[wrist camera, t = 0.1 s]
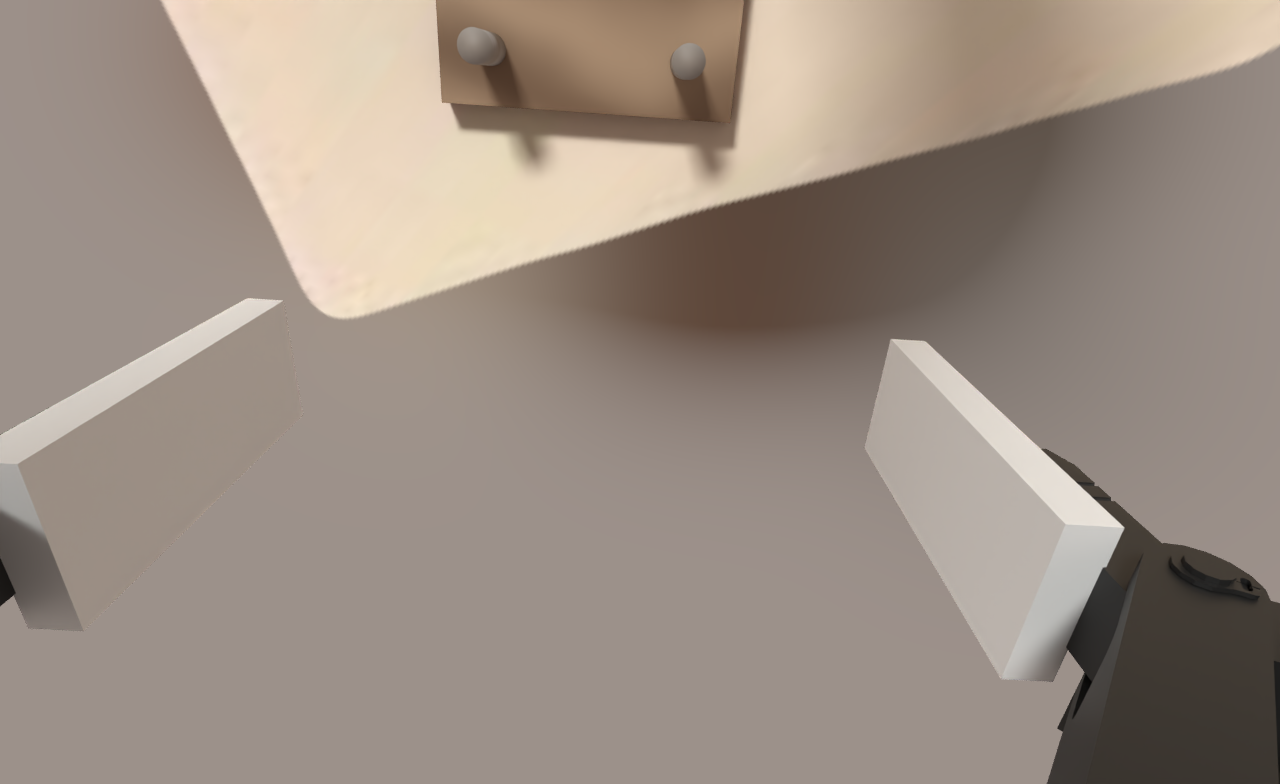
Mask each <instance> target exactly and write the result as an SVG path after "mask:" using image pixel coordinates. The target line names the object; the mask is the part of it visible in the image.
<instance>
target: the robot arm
mask: <svg viewBox="0 0 1280 784" xmlns="http://www.w3.org/2000/svg"><path fill="white" fill-rule="evenodd" d="M302 416H303V410H302V404H301V399H300V393H299V387H298V381H297V375H296V370H295V364H294V358H293V352H292V347H291V341H290V336H289V329H288V324H287V318H286V312H285V307H284V301H282V300H266V299H250V298H247V299H245V300H243V301H242V302H240V303H238V304H236V305H235V306H233V307H231V308H229V309H227V310H225V311H224V312H222V313H220V314H218V315H216V316H214V317H213V318H211V319H209V320H207V321H205V322H204V323H202V324H200V325H198V326H196V327H195V328H193V329H191V330H189V331H187V332H186V333H184V334H182V335H180V336H178V337H176V338H175V339H173V340H171V341H169V342H167V343H166V344H164V345H162V346H160V347H158V348H157V349H155V350H153V351H151V352H150V353H148V354H146V355H144V356H142V357H140V358H138V359H137V360H135V361H133V362H131V363H129V364H128V365H126V366H124V367H122V368H121V369H119V370H117V371H115V372H113V373H111V374H110V375H108V376H106V377H104V378H102V379H101V380H99V381H97V382H95V383H93V384H91V385H90V386H88V387H86V388H84V389H82V390H81V391H79V392H77V393H75V394H74V395H72V396H70V397H68V398H66V399H64V400H63V401H61V402H59V403H57V404H55V405H53V406H51V407H49V408H48V409H46V410H44V411H42V412H40V413H39V414H37V415H35V416H33V417H31V418H29V419H28V420H26V421H24V422H23V423H21V424H19V425H17V426H15V427H13V428H11V429H9V430H8V431H6V432H4V433H2V434H0V606H1V605H2V604H3V603H5V602H6V601H7V600H8V599H10V598H11V597H12V596H13V595H14V597H15V599H16V602H17V604H18V606H19V608H20V611H21V613H22V615H23V617H24V620H25V622H26V624H27V626H28V628H33V629H52V630H71V631H84V630H85V629H86V628H87V627H88V626H89V625H90V624H91V623H92V622H93V621H94V620H96V618H98V617H99V615H101V614H102V613H103V612H104V611H105V610H106V609H107V608H108V607H109V606H110V605H111V603H113V602H114V601H115V600H116V599H117V598H118V597H119V596H120V595H121V594H122V593H123V592H124V591H125V590H126V589H127V588H128V587H129V586H130V585H131V584H132V583H133V582H134V581H135V580H136V579H137V578H138V577H139V576H140V575H141V574H142V573H143V572H144V571H145V570H146V569H147V568H148V567H149V566H150V565H151V564H152V563H153V562H154V561H155V560H156V559H157V558H158V557H159V556H161V554H163V553H164V551H166V550H167V549H168V548H169V547H170V545H172V544H173V543H174V542H175V541H176V540H177V539H178V538H179V537H180V536H181V535H182V534H183V533H184V532H185V531H186V530H187V529H188V528H189V527H190V526H191V525H192V524H193V523H194V522H195V521H196V520H197V519H198V518H199V517H200V516H201V515H202V514H203V513H204V512H205V511H206V510H207V509H208V508H209V507H210V506H211V505H212V504H213V503H214V502H215V501H216V500H217V499H218V498H219V497H220V496H221V495H222V494H223V493H224V492H226V491H227V490H228V488H229V487H231V486H232V485H233V484H234V483H235V481H237V479H239V478H240V477H241V476H242V475H243V474H244V473H245V472H246V471H247V470H248V469H249V468H250V467H251V466H252V465H253V464H254V463H255V462H256V461H257V460H258V459H259V458H260V457H261V456H262V455H263V454H264V453H265V452H266V451H267V450H268V449H269V448H270V447H271V446H272V445H273V444H274V443H275V442H276V441H277V440H278V439H279V438H280V437H281V436H282V435H283V434H284V433H285V432H286V431H287V430H288V429H290V427H292V426H293V424H295V423H296V421H298V420H299V419H300V418H301V417H302ZM864 449H865V450H866V452H867V454H868V455H869V457H870V459H871V460H872V462H873V464H874V465H875V467H876V469H877V471H878V472H879V474H880V476H881V477H882V479H883V481H884V482H885V484H886V486H887V488H888V489H889V490H890V492H891V494H892V496H893V498H894V499H895V501H896V503H897V504H898V506H899V507H900V509H901V511H902V513H903V514H904V516H905V518H906V520H907V521H908V523H909V524H910V526H911V528H912V529H913V531H914V533H915V535H916V536H917V538H918V540H919V541H920V543H921V545H922V546H923V548H924V550H925V552H926V553H927V555H928V557H929V558H930V560H931V562H932V563H933V565H934V567H935V568H936V570H937V572H938V574H939V575H940V577H941V579H942V580H943V582H944V584H945V585H946V587H947V589H948V590H949V592H950V594H951V595H952V597H953V599H954V600H955V602H956V604H957V606H958V607H959V609H960V611H961V612H962V614H963V616H964V617H965V619H966V620H967V622H968V624H969V626H970V627H971V629H972V631H973V632H974V634H975V636H976V638H977V639H978V641H979V643H980V644H981V646H982V648H983V649H984V651H985V653H986V654H987V656H988V658H989V660H990V661H991V663H992V664H993V666H994V668H995V669H996V671H997V673H998V675H999V676H1000V678H1001V679H1009V680H1030V681H1049V682H1053V681H1054V678H1055V676H1056V674H1057V672H1058V670H1059V668H1060V665H1061V663H1062V661H1063V659H1064V657H1065V655H1066V653H1067V651H1068V650H1069V652H1070V653H1071V654H1072V656H1073V657H1074V658H1075V660H1076V661H1077V663H1078V664H1079V665H1080V667H1081V668H1082V669H1083V671H1084V672H1085V673H1084V675H1083V677H1082V679H1081V681H1080V683H1079V685H1078V687H1077V689H1076V691H1075V693H1074V695H1073V697H1072V699H1071V701H1070V703H1069V705H1068V708H1067V709H1066V712H1065V714H1064V716H1063V718H1062V720H1061V722H1060V724H1059V726H1058V729H1059V730H1061V731H1063V733H1062V736H1061V740H1060V743H1059V746H1058V749H1057V753H1056V756H1055V759H1054V762H1053V766H1052V769H1051V773H1050V775H1049V779H1048V782H1047V784H1280V603H1277V602H1273V601H1271V600H1270V599H1269V596H1268V594H1267V592H1266V590H1265V589H1264V588H1263V587H1262V586H1261V585H1260V584H1259V583H1258V582H1257V581H1256V580H1255V579H1254V578H1253V577H1252V576H1250V575H1249V574H1247V573H1245V572H1244V571H1242V570H1241V569H1239V568H1238V567H1236V566H1235V565H1233V564H1231V563H1230V562H1227V561H1225V560H1223V559H1221V558H1218V557H1216V556H1214V555H1212V554H1209V553H1207V552H1204V551H1200V550H1197V549H1194V548H1190V547H1187V546H1183V545H1174V544H1167V543H1163V544H1162V543H1161V542H1160V541H1159V540H1157V539H1156V538H1155V537H1154V536H1153V535H1152V534H1151V533H1150V532H1149V531H1147V530H1146V529H1145V528H1144V527H1143V526H1142V525H1141V524H1140V523H1139V522H1137V521H1136V520H1135V519H1134V518H1133V517H1132V516H1131V515H1130V514H1129V513H1127V512H1126V511H1125V510H1124V509H1123V508H1122V507H1121V506H1120V505H1118V504H1117V503H1116V502H1115V501H1111V497H1110V496H1108V495H1107V494H1106V493H1105V492H1104V491H1103V490H1102V489H1101V488H1100V487H1098V486H1094V482H1093V481H1092V480H1091V479H1090V478H1088V477H1087V476H1086V475H1085V474H1084V473H1083V472H1082V471H1081V470H1080V469H1079V468H1077V467H1076V466H1075V465H1074V464H1072V463H1070V462H1068V461H1067V460H1065V459H1063V458H1061V457H1059V456H1058V455H1056V454H1054V453H1052V452H1051V451H1049V450H1047V449H1040V448H1039V447H1038V446H1037V445H1036V444H1034V443H1033V442H1032V441H1031V440H1030V439H1029V438H1028V437H1027V436H1026V435H1025V434H1024V433H1023V432H1022V431H1021V430H1020V429H1019V428H1018V427H1017V426H1015V425H1014V424H1013V423H1012V422H1011V421H1010V420H1009V419H1008V418H1007V417H1006V416H1005V415H1004V414H1003V413H1001V412H1000V411H999V410H998V409H997V408H996V407H995V406H994V405H993V404H992V403H991V402H990V401H989V400H988V399H987V398H985V397H984V396H983V395H982V394H981V393H980V392H979V391H978V390H977V389H976V388H975V387H974V386H973V385H972V384H970V382H968V381H967V380H966V379H965V378H964V377H963V376H962V375H961V374H960V373H959V372H958V371H957V370H956V369H955V368H953V367H952V366H951V365H950V364H949V363H948V362H947V361H946V360H945V359H944V358H943V357H942V356H941V355H940V354H938V353H937V352H936V351H935V350H934V349H933V348H932V347H931V346H930V345H929V344H928V343H927V342H926V341H916V340H899V339H890V344H889V348H888V352H887V356H886V360H885V364H884V369H883V372H882V377H881V381H880V385H879V389H878V393H877V397H876V401H875V405H874V410H873V414H872V418H871V422H870V426H869V430H868V434H867V439H866V443H865V447H864Z"/></svg>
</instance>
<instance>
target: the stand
mask: <svg viewBox="0 0 1280 784" xmlns="http://www.w3.org/2000/svg"><path fill="white" fill-rule="evenodd" d="M743 6H744V0H436V9H437V26H438V43H439V61H440V78H441V95H442V103H456V104H470V105H484V106H498V107H512V108H527V109H541V110H555V111H569V112H583V113H597V114H611V115H625V116H639V117H654V118H668V119H682V120H696V121H710V122H724V123H730V119H731V110H732V101H733V93H734V84H735V75H736V67H737V58H738V49H739V40H740V32H741V23H742V14H743Z"/></svg>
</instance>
